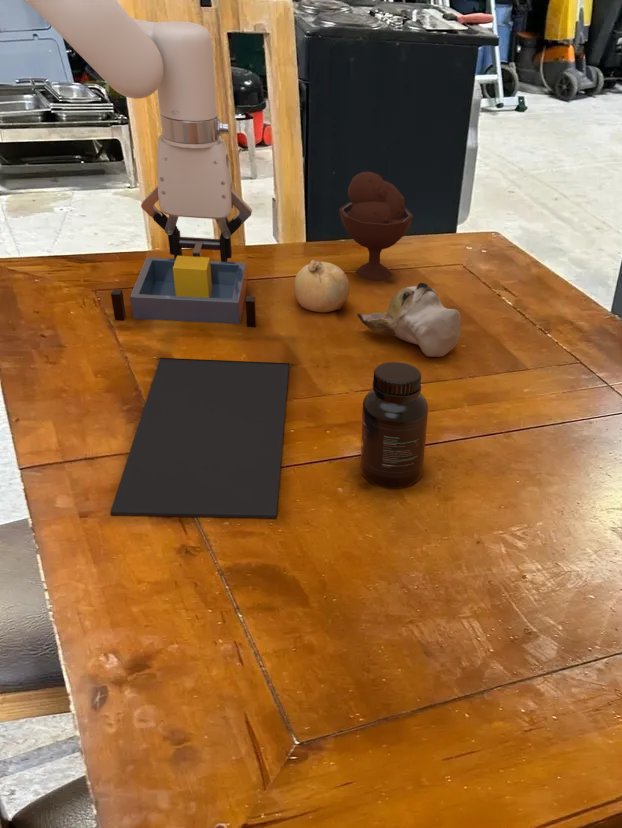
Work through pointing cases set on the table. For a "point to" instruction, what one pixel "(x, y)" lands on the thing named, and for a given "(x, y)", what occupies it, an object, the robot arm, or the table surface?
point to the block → (192, 276)
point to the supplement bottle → (394, 427)
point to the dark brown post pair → (121, 314)
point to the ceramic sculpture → (418, 320)
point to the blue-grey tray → (161, 303)
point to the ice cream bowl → (375, 220)
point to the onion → (321, 287)
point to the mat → (207, 441)
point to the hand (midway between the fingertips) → (201, 259)
